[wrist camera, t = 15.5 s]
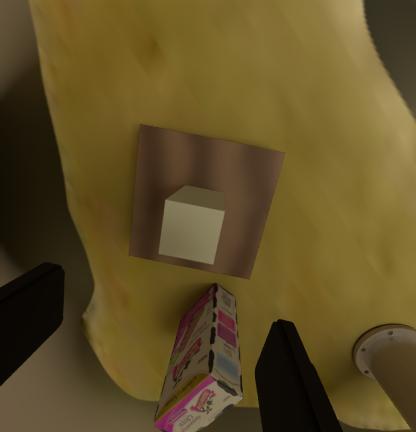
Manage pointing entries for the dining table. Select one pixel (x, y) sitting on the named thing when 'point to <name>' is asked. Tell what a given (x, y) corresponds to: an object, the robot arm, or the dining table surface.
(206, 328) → the candy bar box
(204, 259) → the sage block
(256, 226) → the walnut block
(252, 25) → the dining table surface
